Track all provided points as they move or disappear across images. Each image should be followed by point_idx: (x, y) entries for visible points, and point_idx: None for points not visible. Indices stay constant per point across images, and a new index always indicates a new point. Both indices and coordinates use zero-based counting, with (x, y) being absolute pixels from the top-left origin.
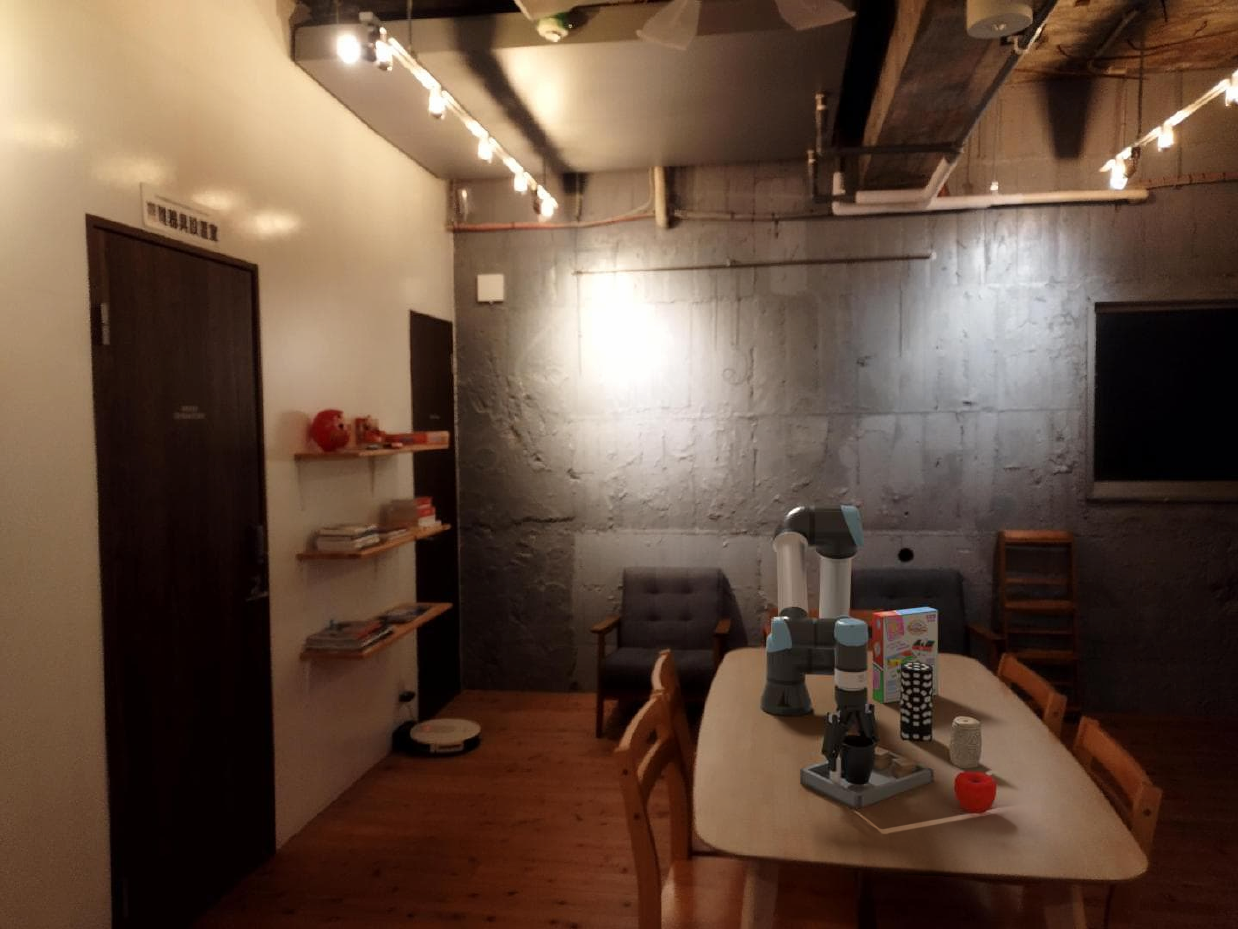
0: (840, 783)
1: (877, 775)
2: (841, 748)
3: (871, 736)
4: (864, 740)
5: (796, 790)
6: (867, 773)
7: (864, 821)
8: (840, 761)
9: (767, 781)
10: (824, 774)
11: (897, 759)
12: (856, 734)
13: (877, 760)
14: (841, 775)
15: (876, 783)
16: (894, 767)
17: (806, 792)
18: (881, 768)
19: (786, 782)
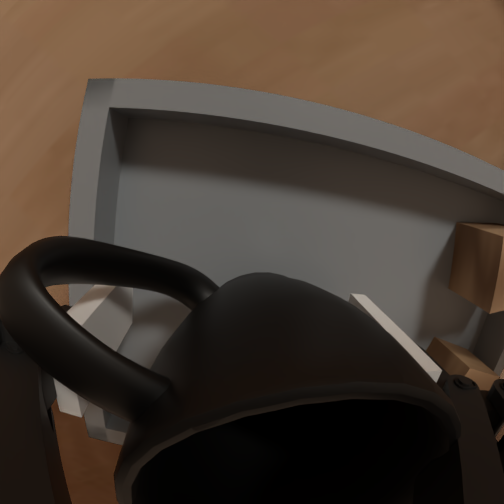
0: (128, 327)
1: (410, 306)
2: (127, 430)
3: (500, 419)
4: (423, 449)
5: (52, 138)
6: (248, 426)
7: (84, 430)
8: (86, 403)
9: (51, 17)
10: (250, 130)
11: (476, 378)
12: (455, 427)
13: (475, 288)
14: (181, 302)
15: None
16: (445, 370)
17: (65, 178)
18: (457, 291)
19: (86, 56)
